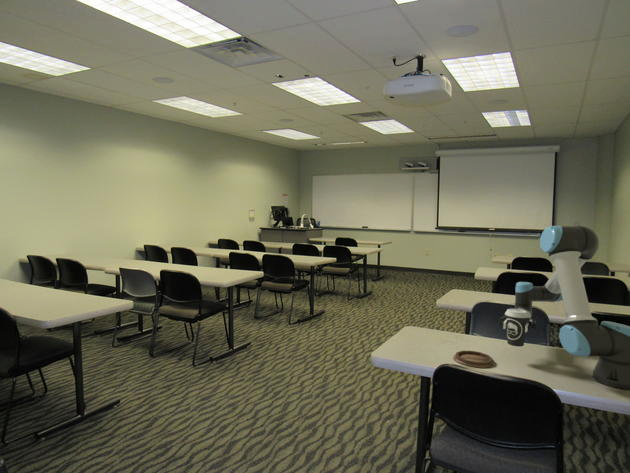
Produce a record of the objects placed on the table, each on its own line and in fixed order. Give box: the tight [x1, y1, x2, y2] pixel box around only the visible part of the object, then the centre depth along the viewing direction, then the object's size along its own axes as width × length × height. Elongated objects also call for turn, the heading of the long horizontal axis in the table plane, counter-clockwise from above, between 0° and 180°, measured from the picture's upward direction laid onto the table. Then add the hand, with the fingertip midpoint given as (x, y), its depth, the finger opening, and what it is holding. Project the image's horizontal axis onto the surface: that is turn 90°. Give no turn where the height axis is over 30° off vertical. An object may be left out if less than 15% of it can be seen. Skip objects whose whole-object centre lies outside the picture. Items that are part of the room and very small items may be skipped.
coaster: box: [453, 350, 495, 369], centre depth 179 cm, size 17×17×2 cm
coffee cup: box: [504, 308, 529, 347], centre depth 178 cm, size 10×10×15 cm
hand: (515, 327), depth 174 cm, fingers closed on coffee cup, 8 cm apart
